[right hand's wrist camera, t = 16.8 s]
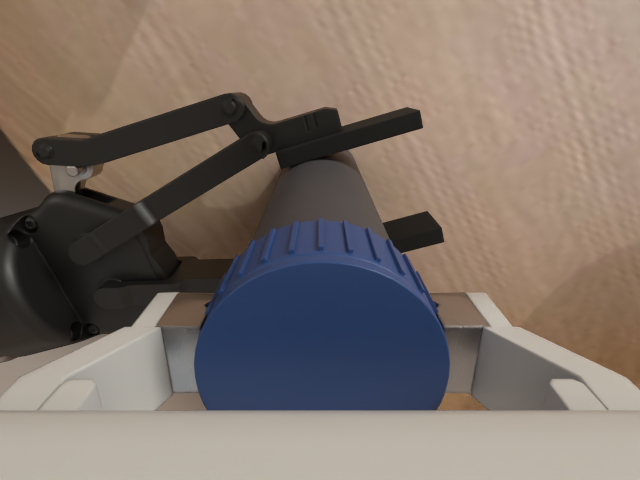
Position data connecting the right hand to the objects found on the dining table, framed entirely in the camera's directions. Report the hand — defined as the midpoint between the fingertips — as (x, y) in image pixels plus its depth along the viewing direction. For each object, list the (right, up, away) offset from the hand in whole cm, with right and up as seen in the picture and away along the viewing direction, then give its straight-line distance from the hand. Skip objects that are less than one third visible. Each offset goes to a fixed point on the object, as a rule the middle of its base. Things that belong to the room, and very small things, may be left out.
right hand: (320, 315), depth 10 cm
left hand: (+5, +5, +9) cm, 12 cm away
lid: (0, -1, -2) cm, 2 cm away
